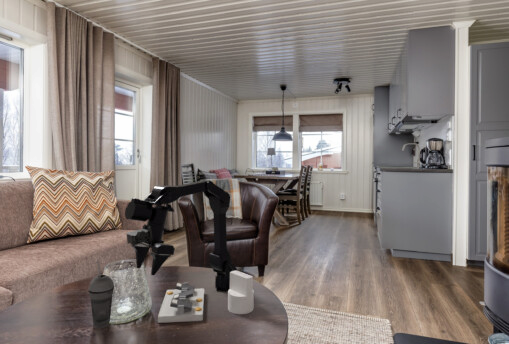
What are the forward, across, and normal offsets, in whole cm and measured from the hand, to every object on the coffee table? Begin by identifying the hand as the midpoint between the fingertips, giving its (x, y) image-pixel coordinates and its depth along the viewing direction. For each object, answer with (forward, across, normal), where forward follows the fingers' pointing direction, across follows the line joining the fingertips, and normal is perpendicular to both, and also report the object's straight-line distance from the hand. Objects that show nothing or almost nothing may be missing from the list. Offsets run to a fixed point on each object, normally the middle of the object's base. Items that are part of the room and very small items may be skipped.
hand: (145, 271), depth 103 cm
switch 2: (+8, +2, +16) cm, 18 cm away
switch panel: (+12, +2, +17) cm, 21 cm away
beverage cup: (+18, -6, -7) cm, 20 cm away
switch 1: (+7, -4, +20) cm, 22 cm away
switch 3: (+9, +7, +12) cm, 16 cm away
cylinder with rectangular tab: (+9, +17, +30) cm, 35 cm away
